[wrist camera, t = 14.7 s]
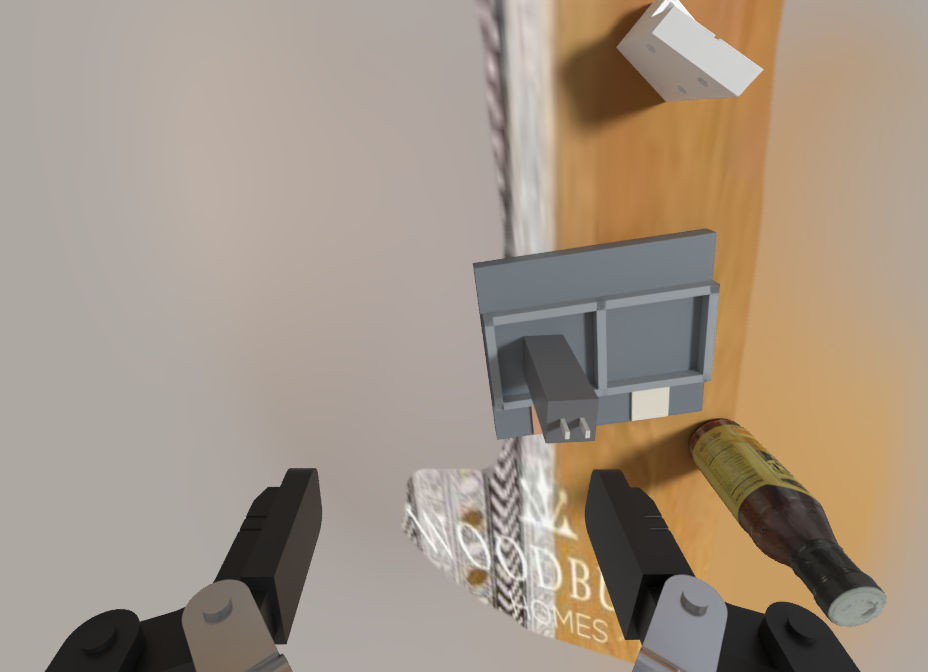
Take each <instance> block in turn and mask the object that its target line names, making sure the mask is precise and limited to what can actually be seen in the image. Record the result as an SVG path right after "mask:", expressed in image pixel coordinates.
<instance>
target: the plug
mask: <svg viewBox="0 0 928 672" xmlns="http://www.w3.org/2000/svg"><path fill="white" fill-rule="evenodd" d="M523 373H524V376H525V379H526V382H527V386H528V389H529V392H530V395H531V398H532V401H533V404H534V408H535V411H536V414H537V417H538V420H539V423H540V426H541V430H542V433H543V436H544V439H545V442H546V443H563V442H583V441H595V433H596V424H597V414H598V404H599V398H598V396H597V394H596V393H595V391H594V389H593V387H592V385H591V384H590V382H589V380H588V378H587V377H586V375H585V373H584V371H583V369H582V368H581V366H580V364H579V362H578V360H577V359H576V357H575V355H574V353H573V351H572V350H571V348H570V346H569V344H568V342H567V341H566V339H565V337H564V335H563V334H560V335H538V336H524V342H523Z"/></svg>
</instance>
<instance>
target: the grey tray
mask: <svg viewBox="0 0 928 672" xmlns="http://www.w3.org/2000/svg"><path fill="white" fill-rule="evenodd" d="M715 245H716V232H714V231H711V230H709V229H701V230H694V231H687V232H681V233H674V234H667V235H660V236H654V237H647V238H640V239H633V240H627V241H620V242H613V243H606V244H600V245H593V246H586V247H579V248H573V249H566V250H559V251H552V252H546V253H539V254H532V255H525V256H519V257H512V258H505V259H498V260H492V261H485V262H478V263H473V267H474V275H475V282H476V289H477V297H478V304H479V311H480V319H481V326H482V333H483V340H484V348H485V355H486V363H487V369H488V377H489V385H490V391H491V399H492V407H493V414H494V421H495V428H496V435H497V439H506V438H513V437H520V436H527V435H536V434H543V433H542V430H541V426H540V423H539V420H538V417H537V414H536V411H535V408H534V404H533V401H532V398H531V395H530V392H529V389H528V386H527V382H526V379H525V376H524V373H523V342H524V336H538V335H560V334H563V335H564V337H565V339H566V341H567V342H568V344H569V346H570V348H571V350H572V351H573V353H574V355H575V357H576V359H577V360H578V362H579V364H580V366H581V368H582V369H583V371H584V373H585V375H586V377H587V378H588V380H589V382H590V384H591V385H592V387H593V389H594V391H595V393H596V394H597V396H598V398H599V404H598V414H597V424H596V426H598V425H605V424H612V423H619V422H627V421H635V420H642V419H650V418H657V417H664V416H669V415H676V414H684V413H691V412H698V411H702V403H703V391H704V382H706V381H711V378H712V367H713V355H714V344H715V333H716V322H717V311H718V299H719V288H720V284H719V283H717V282H715V281H714V280H713V269H714V257H715Z"/></svg>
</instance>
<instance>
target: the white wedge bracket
mask: <svg viewBox="0 0 928 672" xmlns="http://www.w3.org/2000/svg"><path fill="white" fill-rule="evenodd" d="M714 37H715V34H713V33H712V32H710V31H709V30H708V29H706V28H705V27H703V26H702V25H701V24H699V23H698V22H696V21H695V20H694V18H693V17H692V16H691V15H690V14H689V12H688V11H687V10H686V9H685V8H684V6H683V5H682V4H681V3H680V2H679V0H656V1H654V2H653V3H652V4H651V5H650V6H649V8H648V9H647V10H646V11H645V12H644V14H643V15H642V16H641V17H640V19H639V20H638V21H637V22H636V23H635V25H634V26H633V27H632V28H631V30H630V31H629V32H628V33H627V35H626V36H625V37H624V38H623V39H622V41H621V42H620V43H619V44H618V46H617V47H616V48H617V49H618V50H619V51H620V52H621V53H622V54H623V56H624V57H625V58H626V59H627V60H628V61H629V62H630V63H631V64H632V65H633V66H634V68H635V69H636V70H637V71H638V72H639V73H640V74H641V75H642V76H643V77H644V78H645V79H646V81H647V82H648V83H649V84H650V85H651V86H652V87H653V88H654V89H655V90H656V91H657V93H658V94H659V95H660V96H661V97H662V98H663V99H664V100H665V101H666V102H670V101H684V100H698V99H712V98H726V97H738V96H739V95H740V94H741V93H742V92H743V91H744V90H745V89H746V88H747V87H748V86H749V85H750V83H751V82H752V81H753V80H754V79H755V78H756V77H757V76H758V75H759V74H760V73H761V72H762V71H763V69H762V68H761V67H759V66H758V65H757V64H755V63H754V62H752V61H751V60H750V59H748V58H747V57H745V56H744V55H743V54H741V53H740V52H738V51H737V50H736V49H734V48H733V47H731V46H730V45H729V44H727V43H726V42H724V41H723V40H722V39H715V38H714Z"/></svg>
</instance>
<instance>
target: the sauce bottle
mask: <svg viewBox="0 0 928 672" xmlns="http://www.w3.org/2000/svg"><path fill="white" fill-rule="evenodd" d="M689 447H690V453H691V457H692V458H693V460H694V462H695V463H696V465H697V467H698V468H699V469H700V471H701V472H702V474H703V475H704V476H705V478H706V479H707V481H708V482H709V483H710V485H711V486H712V487H713V489H714V490H715V491H716V493H717V494H718V496H719V497H720V498H721V500H722V501H723V502H724V504H725V505H726V506H727V508H728V509H729V510H730V512H731V513H732V514H733V516H734V517H735V519H736V520H737V521H738V523H739V524H740V525H741V527H742V528H743V529H744V530H745V531H746V532H747V533H748V534H749V535H750V537H751V538H752V539H753V541H754V543H755V544H756V546H757V547H758V548H759V549H760V550H761V551H762V552H763V553H764V554H765V555H767V556H768V557H770V558H772V559H774V560H775V561H777V562H779V563H781V564H785V565H787V566H789V567H791V568H792V569H793V571H794V573H795V574H796V575H797V576H798V577H799V578H800V579H801V580H802V581H803V582H804V584H805V585H806V586H807V588H808V589H809V590H810V591H811V593H812V594H813V595H814V599H815V601H816V603H817V605H818V606H819V607H820V608H821V610H822V611H823V612H824V614H825V615H826V616H827V617H828V619H830V621H831V622H832V623H834V624H836V625H839V626H847V627H852V626H859V625H862V624H864V623H867V622H869V621H871V620H872V619H874V618H876V617H877V616H878V615H879V614H880V613H881V611H882V610H883V608H884V606H885V604H886V595H885V594H884V592H883V591H882V589H881V588H880V587H879V586H878V585H877V584H876V583H875V581H874V580H873V579H872V578H871V577H870V576H868V575H867V574H865V573H863V572H862V571H861V570H860V569H859V568H858V567H857V566H856V565H855V564H854V563H853V562H852V561H851V559H850V558H848V556H847V555H846V554H845V553H844V551H843V549H842V548H841V547H840V546H839V545H838V543H837V541H836V539H835V536H834V534H833V532H832V529H831V527H830V524H829V522H828V519H827V517H826V515H825V512H824V510H823V508H822V506H821V504H820V503H819V502H818V501H817V500H816V499H815V498H814V497H813V496H812V495H811V494H810V493H809V492H808V491H807V490H806V489H805V488H804V487H803V486H802V485H801V484H800V483H799V482H798V481H797V480H796V479H795V478H794V477H793V475H791V474H790V472H789V471H788V470H786V469H785V468H784V466H782V465H781V463H780V462H779V461H778V460H777V459H776V458H775V457H774V456H773V455H772V454H771V453H770V452H769V451H767V449H766V448H765V447H764V446H763V445H762V444H761V443H760V442H759V441H758V440H757V439H756V438H755V437H754V436H753V435H752V434H751V433H750V432H749V431H748V430H746V429H745V428H743V427H741V426H740V425H739V424H737V423H735V422H734V421H731V420H728V419H719V420H714V421H710V422H708V423H706V424H704V425H702V426H701V427H699V428H698V429H697V431H695V432H694V434H693V435H692V436H691V438H690V443H689Z"/></svg>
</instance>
